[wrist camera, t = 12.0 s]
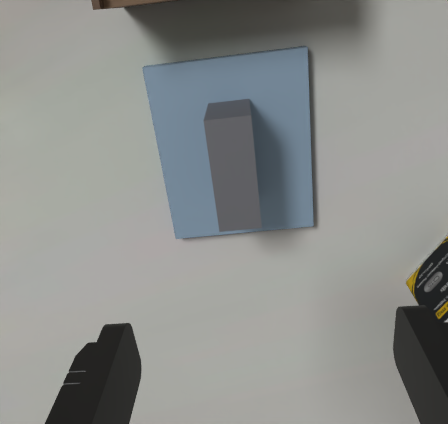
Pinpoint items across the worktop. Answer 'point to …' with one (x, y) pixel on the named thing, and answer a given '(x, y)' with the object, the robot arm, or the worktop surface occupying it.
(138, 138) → the worktop surface
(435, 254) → the medicine bottle
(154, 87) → the cover plate
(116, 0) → the wooden box
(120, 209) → the worktop surface
